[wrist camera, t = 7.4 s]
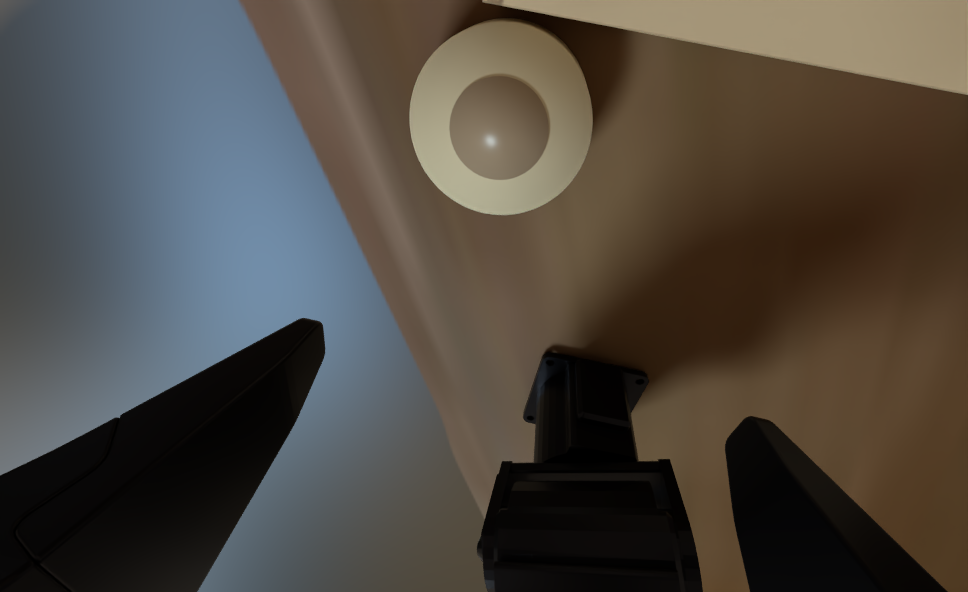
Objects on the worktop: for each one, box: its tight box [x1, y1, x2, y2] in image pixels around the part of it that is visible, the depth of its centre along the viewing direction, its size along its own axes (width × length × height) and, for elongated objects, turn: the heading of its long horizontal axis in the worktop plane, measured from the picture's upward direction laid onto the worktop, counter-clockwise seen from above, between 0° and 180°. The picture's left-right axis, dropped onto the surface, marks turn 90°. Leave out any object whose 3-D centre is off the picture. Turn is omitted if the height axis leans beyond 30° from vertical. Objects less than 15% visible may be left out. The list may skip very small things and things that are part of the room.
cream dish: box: [410, 18, 593, 215], centre depth 17 cm, size 7×7×2 cm
